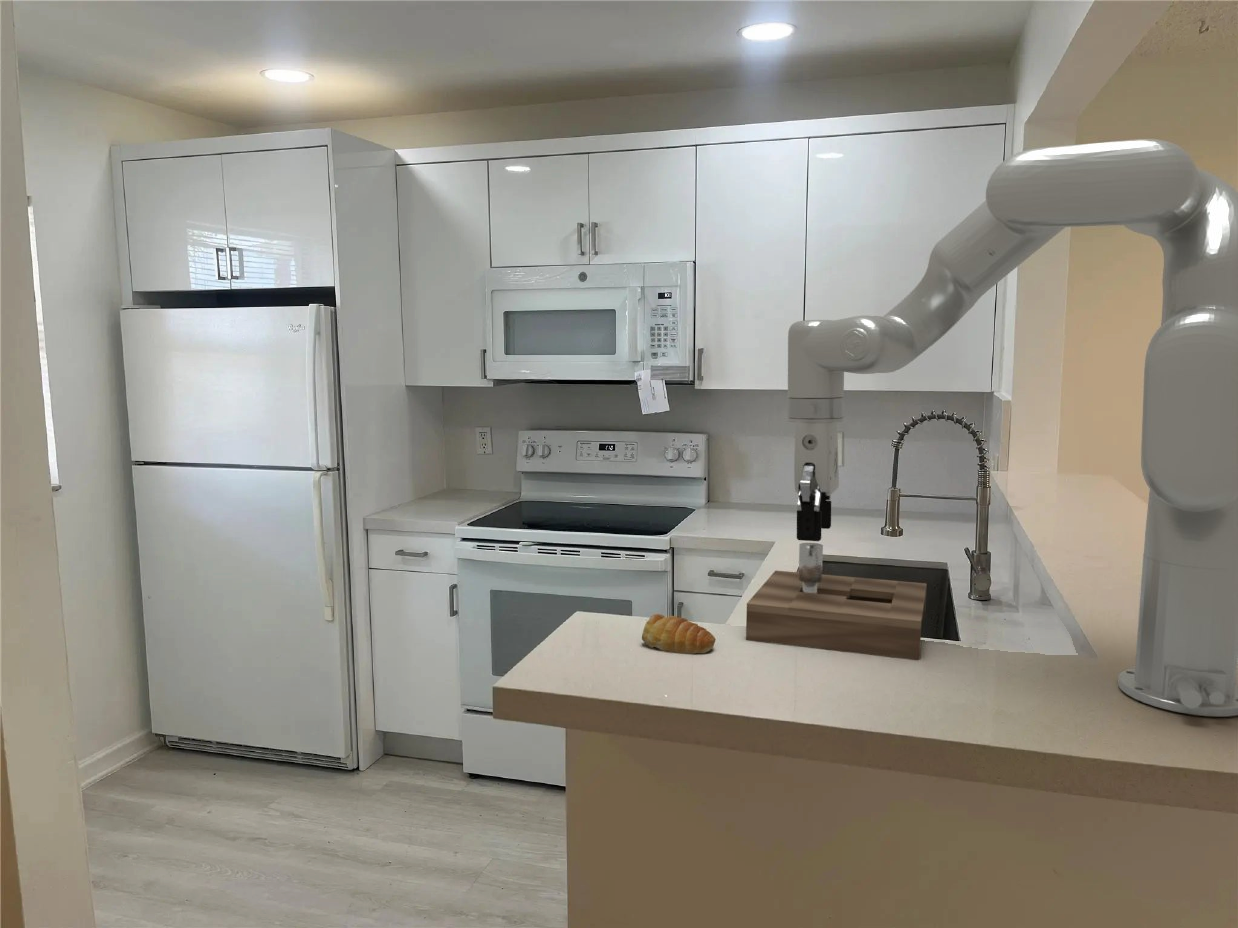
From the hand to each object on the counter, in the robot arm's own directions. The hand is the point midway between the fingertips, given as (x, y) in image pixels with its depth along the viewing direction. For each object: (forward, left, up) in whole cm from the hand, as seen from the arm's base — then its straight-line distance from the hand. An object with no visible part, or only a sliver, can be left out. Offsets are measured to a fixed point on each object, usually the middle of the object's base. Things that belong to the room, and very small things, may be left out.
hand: (814, 533), depth 124 cm
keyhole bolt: (0, 0, -13) cm, 13 cm away
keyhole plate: (0, -3, -13) cm, 13 cm away
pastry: (-15, +15, -14) cm, 25 cm away
